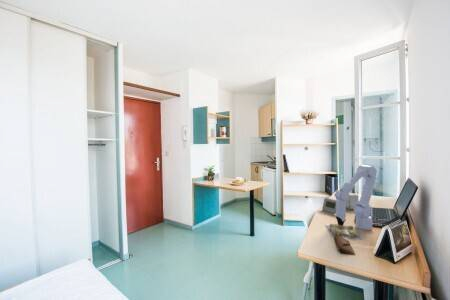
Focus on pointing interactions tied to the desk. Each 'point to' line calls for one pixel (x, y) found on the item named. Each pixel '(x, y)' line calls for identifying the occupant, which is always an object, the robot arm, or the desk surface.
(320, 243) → the desk surface
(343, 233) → the panel
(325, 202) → the digital clock
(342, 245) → the sunglasses case
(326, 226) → the keyhole board
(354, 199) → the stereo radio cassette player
